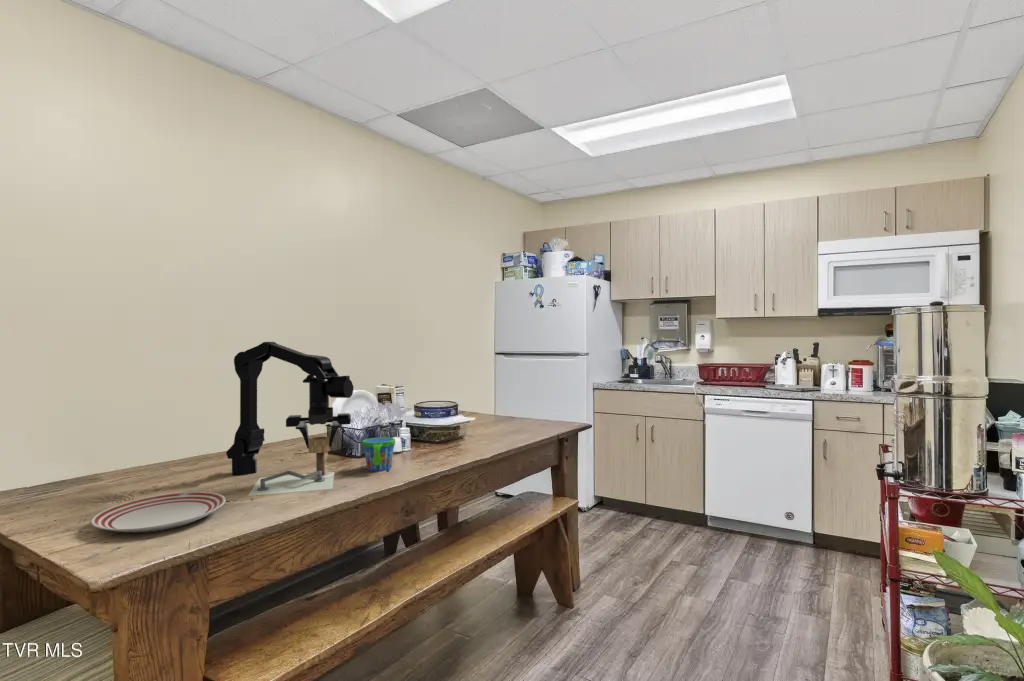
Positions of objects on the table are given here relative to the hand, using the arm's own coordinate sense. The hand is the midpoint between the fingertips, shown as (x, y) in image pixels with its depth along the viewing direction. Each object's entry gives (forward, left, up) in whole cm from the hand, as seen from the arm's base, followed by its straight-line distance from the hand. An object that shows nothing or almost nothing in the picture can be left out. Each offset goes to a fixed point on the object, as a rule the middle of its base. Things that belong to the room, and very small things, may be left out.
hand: (319, 447), depth 172 cm
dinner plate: (-35, -28, -10) cm, 46 cm away
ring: (0, 0, -1) cm, 1 cm away
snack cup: (+18, +6, -10) cm, 22 cm away
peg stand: (0, +1, -9) cm, 9 cm away
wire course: (-7, -5, -10) cm, 13 cm away
